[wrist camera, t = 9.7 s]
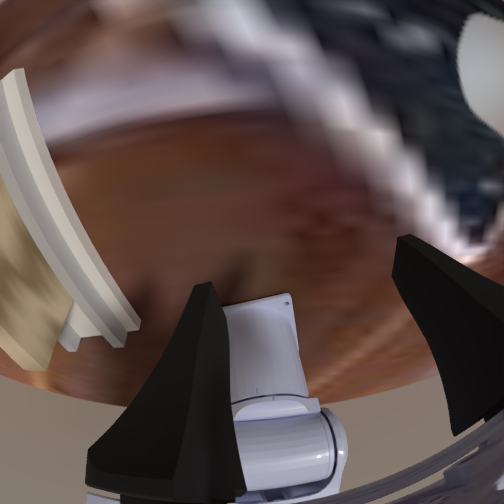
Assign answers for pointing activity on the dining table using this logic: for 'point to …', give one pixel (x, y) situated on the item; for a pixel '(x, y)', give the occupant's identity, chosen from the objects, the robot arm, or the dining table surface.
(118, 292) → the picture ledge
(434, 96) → the dining table surface
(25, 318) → the oak frame
